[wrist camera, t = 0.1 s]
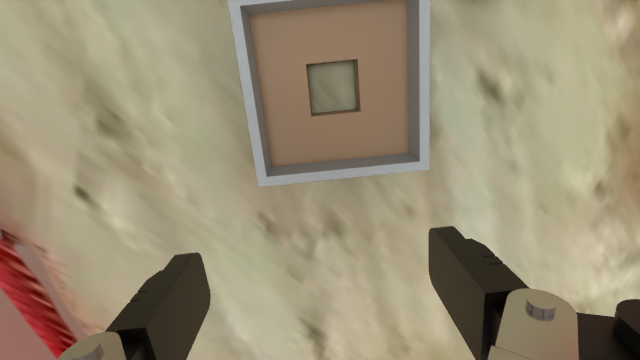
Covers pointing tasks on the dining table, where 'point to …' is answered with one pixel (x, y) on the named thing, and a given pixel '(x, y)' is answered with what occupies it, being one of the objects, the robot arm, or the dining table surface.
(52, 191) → the dining table surface
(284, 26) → the bore box
